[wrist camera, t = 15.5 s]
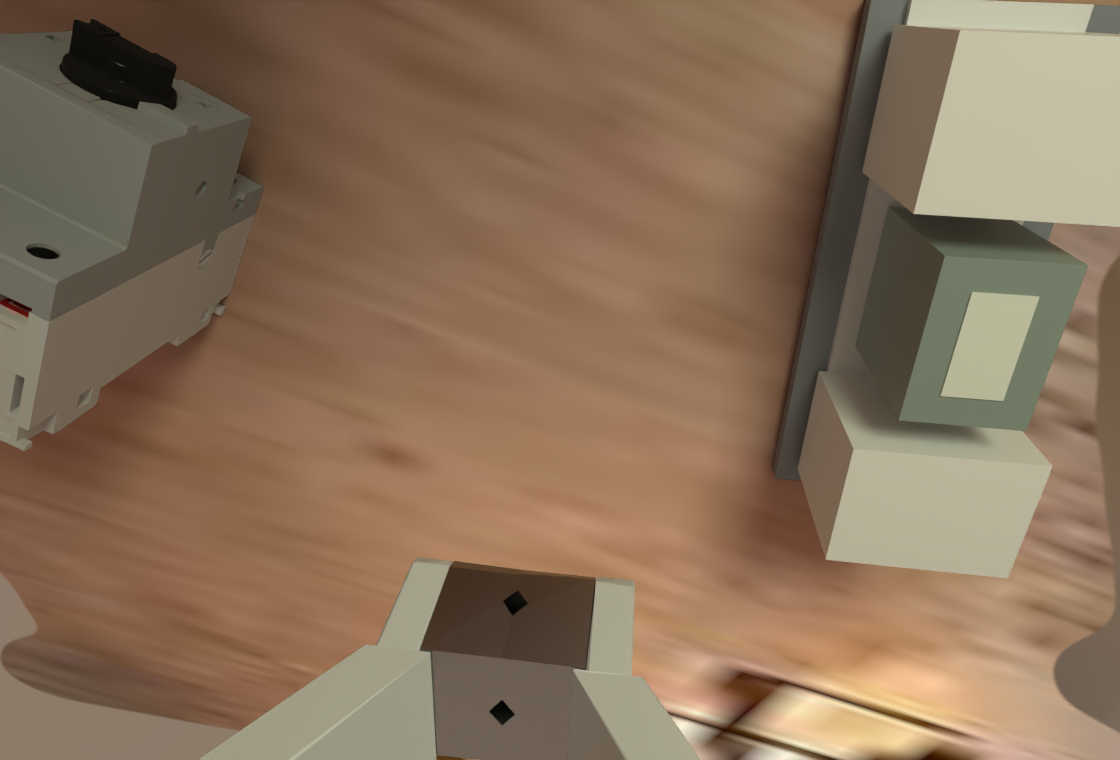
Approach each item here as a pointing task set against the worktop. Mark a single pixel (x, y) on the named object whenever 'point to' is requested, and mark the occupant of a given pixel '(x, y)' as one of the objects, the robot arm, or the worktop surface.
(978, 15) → the rail base
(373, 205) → the worktop surface
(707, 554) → the worktop surface
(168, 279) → the circuit breaker
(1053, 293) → the block
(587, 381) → the worktop surface
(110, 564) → the worktop surface
